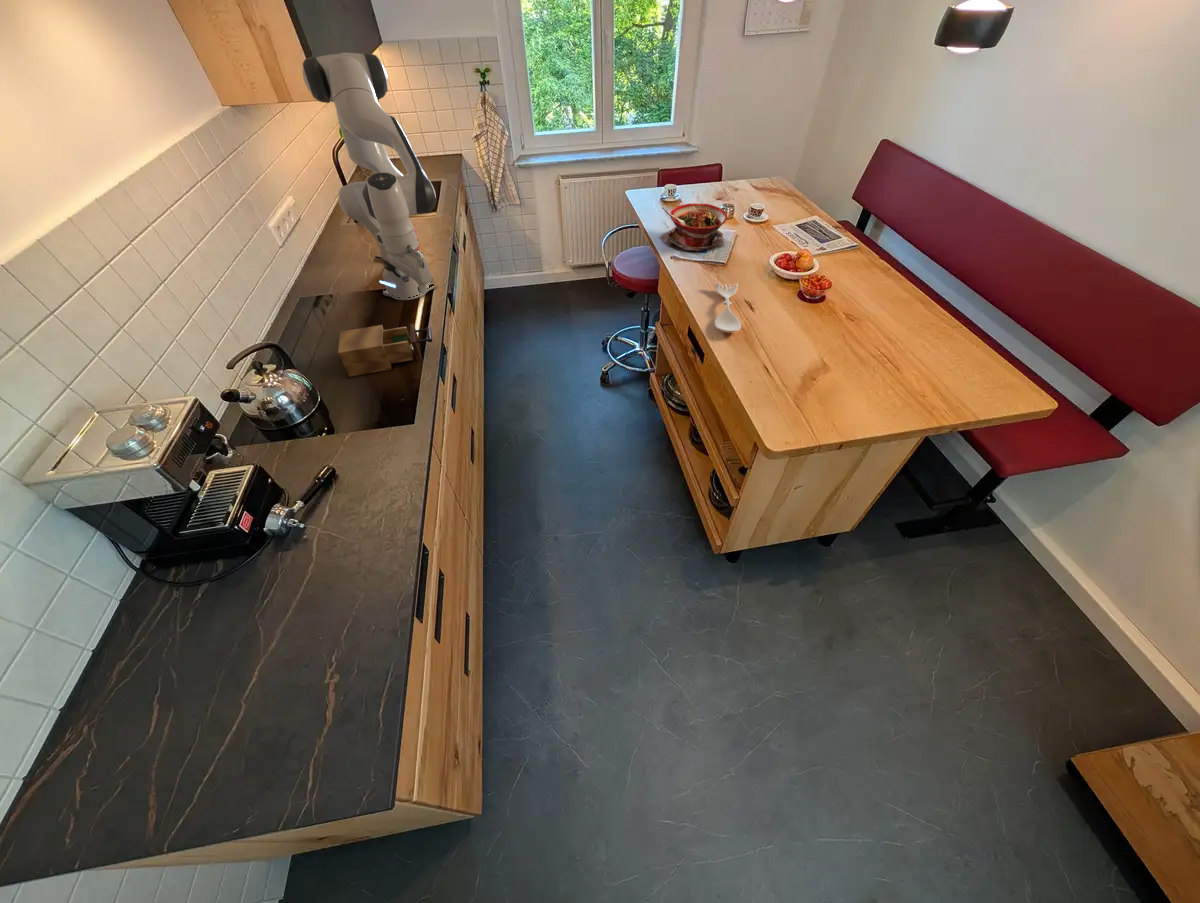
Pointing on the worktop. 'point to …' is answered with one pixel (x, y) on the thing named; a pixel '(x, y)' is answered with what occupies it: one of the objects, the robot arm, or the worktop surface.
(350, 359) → the cabinet
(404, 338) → the sponge
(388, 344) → the drawer
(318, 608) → the worktop surface
